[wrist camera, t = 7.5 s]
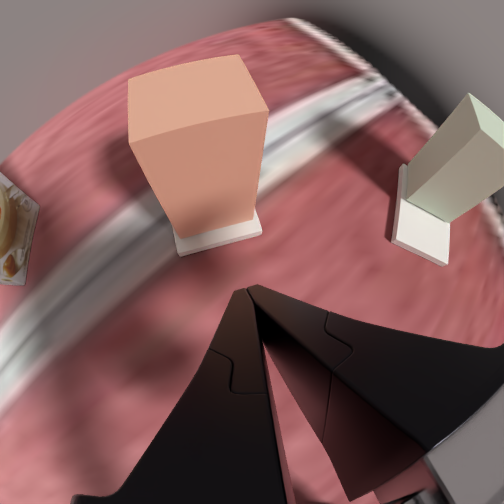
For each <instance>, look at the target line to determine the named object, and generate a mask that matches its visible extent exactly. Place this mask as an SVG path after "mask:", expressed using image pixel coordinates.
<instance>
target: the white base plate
mask: <svg viewBox="0 0 504 504" xmlns="http://www.w3.org/2000/svg"><path fill="white" fill-rule="evenodd" d="M407 182H408V166H407V165H406V164H404V163H403V164H402V165H401V166H400V168H399V178H398V190H397V200H396V209H395V218H394V225H393V232H392V239H391V243H393V244H395V245H397V246H399V247H402V248H404V249H406V250H408V251H410V252H412V253H415V254H417V255H419V256H421V257H423V258H425V259H427V260H429V261H431V262H433V263H435V264H437V265H439V266H441V267H443V266H445V265H447V264H448V256H449V238H450V223H447V222H446V221H444V220H442V219H440V218H439V217H437V216H435V215H433V214H431V213H430V212H428V211H426V210H424V209H422V208H420V207H419V206H417V205H415V204H413V203H411V202H409V201H407V200H406V197H407Z"/></svg>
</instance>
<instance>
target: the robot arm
mask: <svg viewBox="0 0 504 504" xmlns="http://www.w3.org/2000/svg"><path fill="white" fill-rule="evenodd" d="M263 344H264V346H265V348H266V350H267V352H268V353H269V355H270V357H271V359H272V360H273V362H274V364H275V366H276V367H277V369H278V371H279V373H280V374H281V376H282V378H283V380H284V381H285V383H286V385H287V387H288V388H289V390H290V392H291V393H292V395H293V397H294V399H295V400H296V402H297V404H298V405H299V407H300V409H301V410H302V412H303V414H304V415H305V417H306V419H307V421H308V422H309V424H310V425H311V427H312V429H313V430H314V432H315V434H316V435H317V437H318V439H319V440H320V442H321V443H322V445H323V447H324V448H325V450H326V452H327V454H328V456H329V458H330V460H331V462H332V464H333V466H334V469H335V471H336V473H337V475H338V478H339V480H340V482H341V484H342V487H343V489H344V491H345V493H346V496H347V498H348V500H349V501H353V500H355V499H357V498H359V497H361V496H363V495H365V494H368V493H370V492H372V491H374V493H375V495H376V497H377V499H378V501H379V503H380V504H504V343H503V344H502V345H501V346H498V347H495V348H484V347H479V346H473V345H468V344H462V343H457V342H452V341H447V340H442V339H437V338H432V337H427V336H422V335H418V334H413V333H409V332H404V331H400V330H395V329H391V328H386V327H382V326H378V325H374V324H370V323H366V322H362V321H358V320H355V319H351V318H348V317H345V316H342V315H339V314H336V313H334V312H331V311H330V312H329V311H327V310H324V309H322V308H319V307H316V306H313V305H311V304H308V303H305V302H303V301H300V300H297V299H295V298H292V297H289V296H287V295H284V294H282V293H279V292H276V291H274V290H271V289H269V288H266V287H263V286H261V285H258V284H257V285H253V286H250V287H247V289H245V288H243V289H239V290H235V291H234V292H233V294H232V297H231V299H230V301H229V303H228V306H227V308H226V310H225V312H224V315H223V317H222V319H221V321H220V324H219V326H218V328H217V330H216V332H215V335H214V337H213V339H212V341H211V344H210V346H209V348H208V350H207V352H206V354H205V356H204V358H203V360H202V362H201V364H200V366H199V368H198V370H197V372H196V374H195V375H194V377H193V379H192V380H191V382H190V384H189V385H188V387H187V388H186V390H185V392H184V393H183V395H182V396H181V398H180V399H179V401H178V402H177V404H176V405H175V407H174V409H173V410H172V412H171V413H170V415H169V416H168V418H167V419H166V421H165V422H164V424H163V425H162V427H161V428H160V430H159V431H158V433H157V434H156V436H155V437H154V439H153V440H152V442H151V443H150V445H149V446H148V448H147V449H146V451H145V452H144V454H143V455H142V457H141V458H140V460H139V461H138V463H137V464H136V466H135V467H134V469H133V470H132V472H131V473H130V475H129V476H128V477H127V479H126V480H125V482H124V483H123V485H122V486H121V487H120V488H119V490H118V491H116V492H115V493H113V494H112V495H109V496H102V497H99V496H91V495H83V494H76V495H73V496H72V499H71V503H70V504H296V501H295V497H294V492H293V488H292V483H291V479H290V474H289V470H288V465H287V460H286V455H285V450H284V445H283V441H282V436H281V431H280V426H279V421H278V416H277V411H276V406H275V401H274V396H273V391H272V386H271V381H270V376H269V371H268V366H267V361H266V355H265V350H264V346H263Z"/></svg>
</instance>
